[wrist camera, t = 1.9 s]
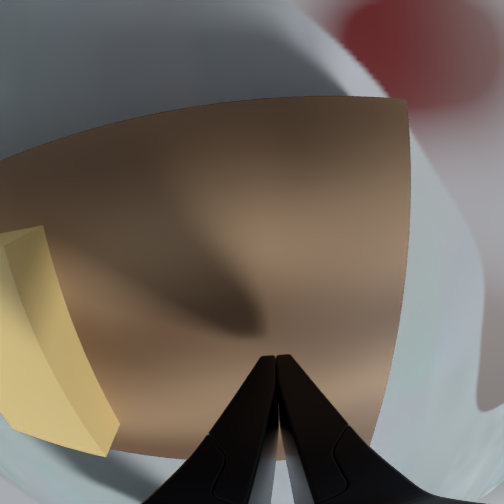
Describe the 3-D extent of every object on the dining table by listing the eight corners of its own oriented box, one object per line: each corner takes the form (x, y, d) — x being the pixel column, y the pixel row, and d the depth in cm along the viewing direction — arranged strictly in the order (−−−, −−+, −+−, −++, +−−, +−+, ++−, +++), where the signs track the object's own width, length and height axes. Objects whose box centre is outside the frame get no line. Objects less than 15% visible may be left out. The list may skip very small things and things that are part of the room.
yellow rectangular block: (120, 423, 11) (105, 457, 9) (29, 404, 12) (12, 428, 10) (43, 225, 8) (4, 245, 6) (-42, 242, 9) (-73, 259, 7)
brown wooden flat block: (352, 392, 15) (368, 449, 11) (44, 385, 16) (17, 422, 13) (362, 110, 10) (406, 99, 7) (-26, 183, 12) (-76, 200, 8)
